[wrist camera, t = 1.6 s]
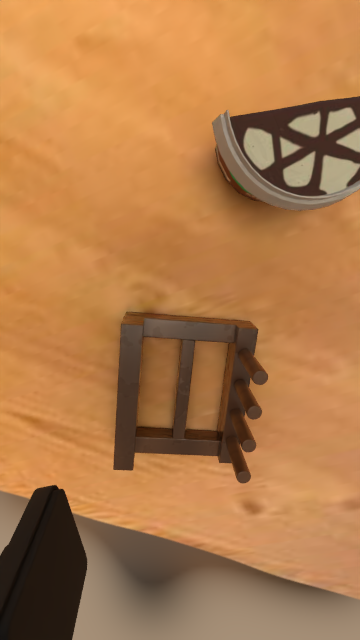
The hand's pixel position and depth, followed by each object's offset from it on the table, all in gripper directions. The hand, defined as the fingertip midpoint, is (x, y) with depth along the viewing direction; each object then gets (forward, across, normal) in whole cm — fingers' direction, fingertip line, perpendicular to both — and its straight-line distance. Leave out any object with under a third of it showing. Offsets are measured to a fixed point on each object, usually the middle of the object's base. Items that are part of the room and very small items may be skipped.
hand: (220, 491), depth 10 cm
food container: (+23, -10, -10) cm, 27 cm away
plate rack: (+23, +1, +7) cm, 24 cm away
